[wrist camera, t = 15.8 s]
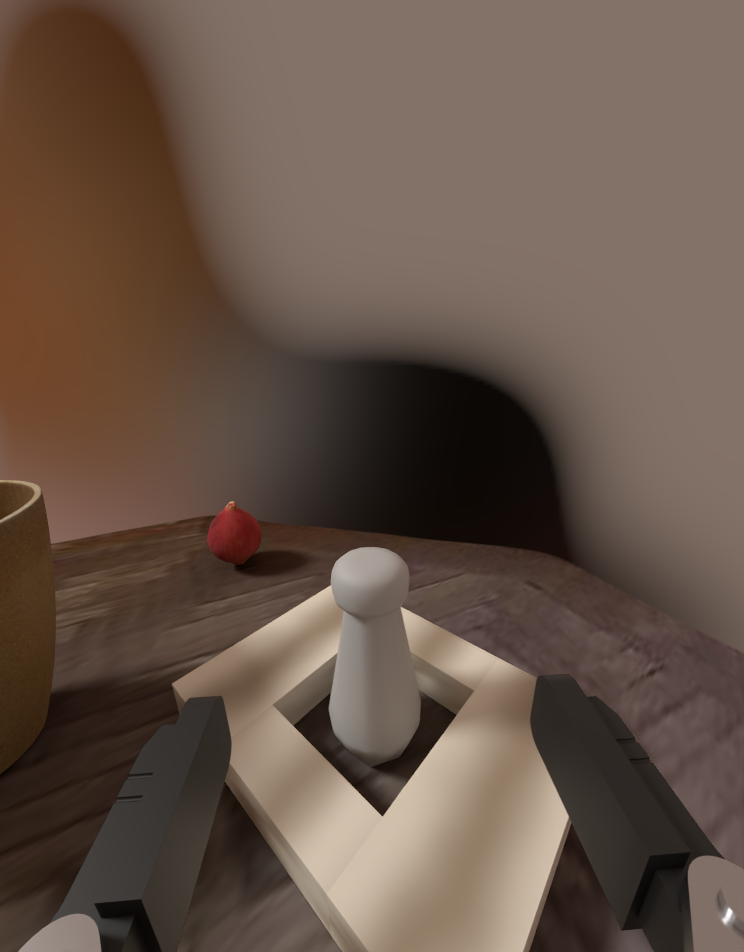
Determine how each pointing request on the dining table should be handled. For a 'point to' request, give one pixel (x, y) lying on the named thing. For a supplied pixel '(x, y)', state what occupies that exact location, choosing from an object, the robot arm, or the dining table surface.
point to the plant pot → (24, 618)
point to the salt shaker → (373, 657)
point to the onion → (234, 535)
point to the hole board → (416, 807)
